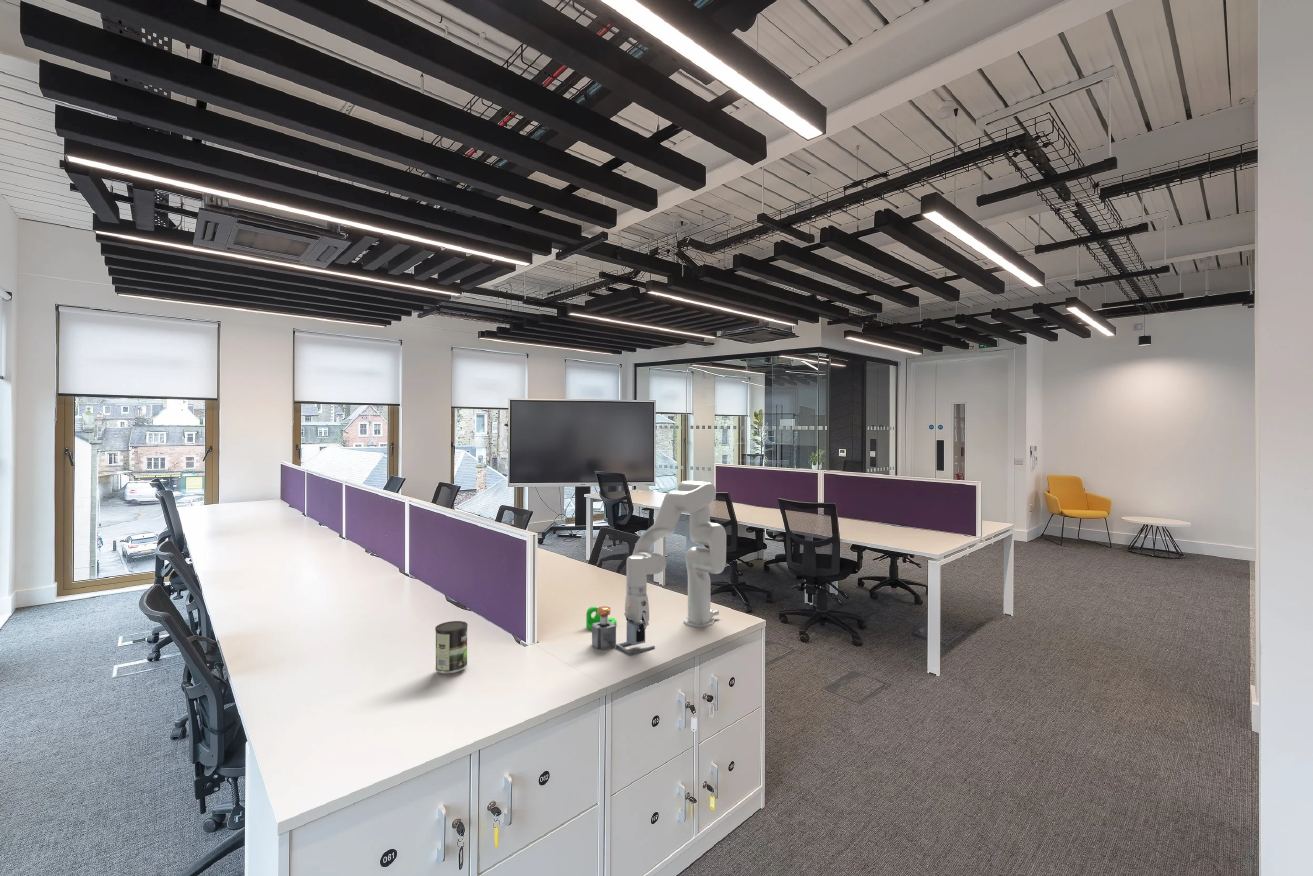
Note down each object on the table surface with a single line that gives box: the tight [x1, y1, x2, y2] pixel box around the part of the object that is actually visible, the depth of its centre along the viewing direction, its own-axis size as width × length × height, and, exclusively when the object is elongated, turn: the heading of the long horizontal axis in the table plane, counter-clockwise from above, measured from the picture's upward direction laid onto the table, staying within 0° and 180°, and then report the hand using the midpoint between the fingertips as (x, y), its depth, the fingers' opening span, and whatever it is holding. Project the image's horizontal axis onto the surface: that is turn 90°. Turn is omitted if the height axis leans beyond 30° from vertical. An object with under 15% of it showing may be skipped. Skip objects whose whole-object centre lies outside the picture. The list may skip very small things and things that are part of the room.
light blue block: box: [626, 620, 646, 646], centre depth 199 cm, size 5×5×8 cm
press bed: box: [611, 641, 656, 657], centre depth 199 cm, size 13×12×2 cm
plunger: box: [597, 606, 611, 627], centre depth 202 cm, size 5×5×8 cm
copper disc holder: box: [591, 622, 617, 651], centre depth 202 cm, size 8×8×8 cm
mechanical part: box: [585, 605, 617, 632], centre depth 223 cm, size 12×6×8 cm, turn 116°
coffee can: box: [434, 620, 469, 674], centre depth 183 cm, size 10×10×14 cm
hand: (636, 638), depth 199 cm, fingers closed on light blue block, 5 cm apart
